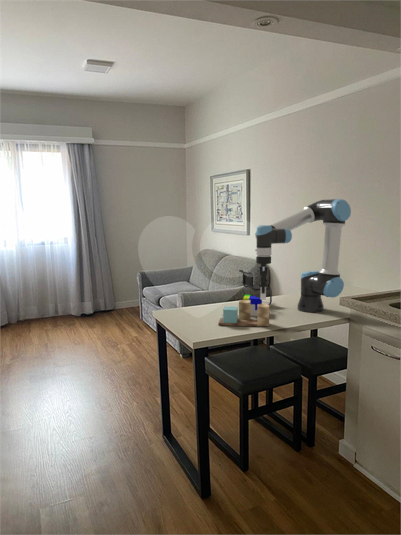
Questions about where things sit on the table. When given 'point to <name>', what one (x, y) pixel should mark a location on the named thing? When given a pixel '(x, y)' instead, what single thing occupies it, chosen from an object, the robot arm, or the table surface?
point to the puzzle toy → (253, 303)
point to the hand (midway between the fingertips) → (263, 296)
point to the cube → (230, 314)
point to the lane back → (243, 310)
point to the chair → (249, 283)
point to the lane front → (261, 320)
